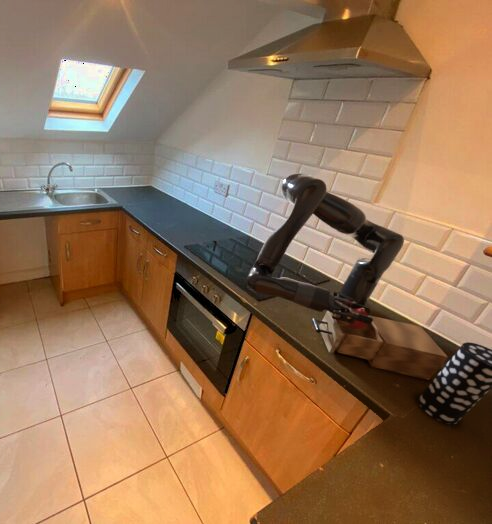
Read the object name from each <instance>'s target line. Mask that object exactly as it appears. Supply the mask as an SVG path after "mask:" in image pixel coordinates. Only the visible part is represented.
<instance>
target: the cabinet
mask: <svg viewBox="0 0 492 524" xmlns="http://www.w3.org/2000/svg"><path fill="white" fill-rule="evenodd" d="M368 316H369V317H372V318H373V321H372V323H371V324H372V326H373V327H374V329H375V330H376V332H377V333H378V335H379V336H380V338H381V339H382V341H383V342H384V344H383V346H382V347H381V349H380V350H379V352H378V353H377V355H376V356H375V358H374V360H373V361H372V360H367V362H368V364H369V365H370V366H371V367H372V368H377V369H380V370H384V371H388V372H392V373H398V374H402V375H406V376H410V377H414V378H418V379H422V380H426V381H430V379H431V378H432V377H433V376H434V374H436V372H437V371H438V370H439V369H440V367H442V365H443V364H444V362H445V361H446V360H447V359H448V355H447V354H446V353H445V352H444V350H442V348H440V346H439V345H438V344H437V343H436V342H435V341H434V340H433V338H432V337H431V336H430V335H429V334H428V332H427V331H425V329H424V328H423V327H422V326H420V325H416V324H411V323H406V322H402V321H397V320H392V319H388V318H383V317H378V316H373V315H370V314H368Z"/></svg>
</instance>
